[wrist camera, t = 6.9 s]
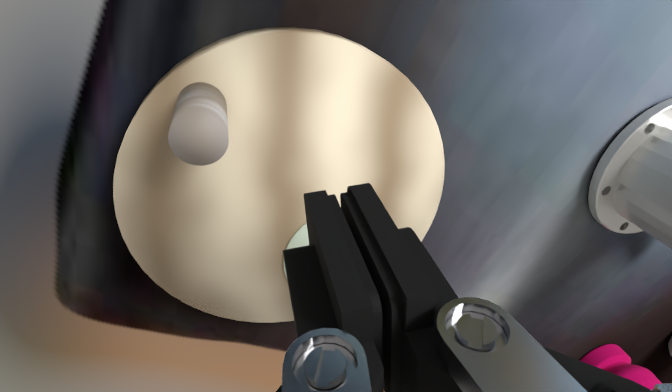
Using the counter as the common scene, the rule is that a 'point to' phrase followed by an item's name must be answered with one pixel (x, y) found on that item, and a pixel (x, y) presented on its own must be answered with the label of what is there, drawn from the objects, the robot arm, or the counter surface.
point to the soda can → (670, 346)
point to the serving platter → (266, 162)
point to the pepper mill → (620, 365)
